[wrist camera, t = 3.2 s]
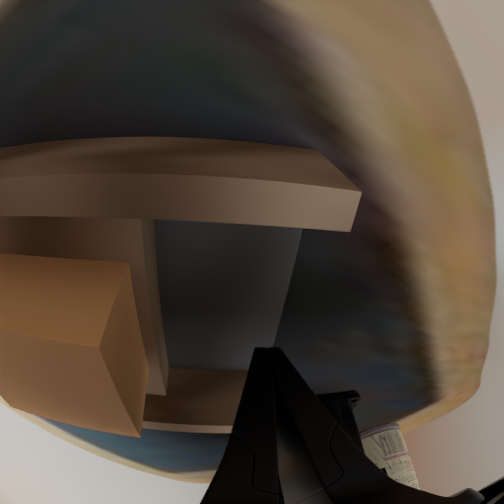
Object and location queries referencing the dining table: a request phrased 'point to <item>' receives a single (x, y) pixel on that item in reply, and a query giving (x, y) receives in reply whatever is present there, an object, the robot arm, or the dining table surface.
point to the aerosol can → (390, 453)
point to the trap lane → (180, 246)
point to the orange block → (72, 342)
